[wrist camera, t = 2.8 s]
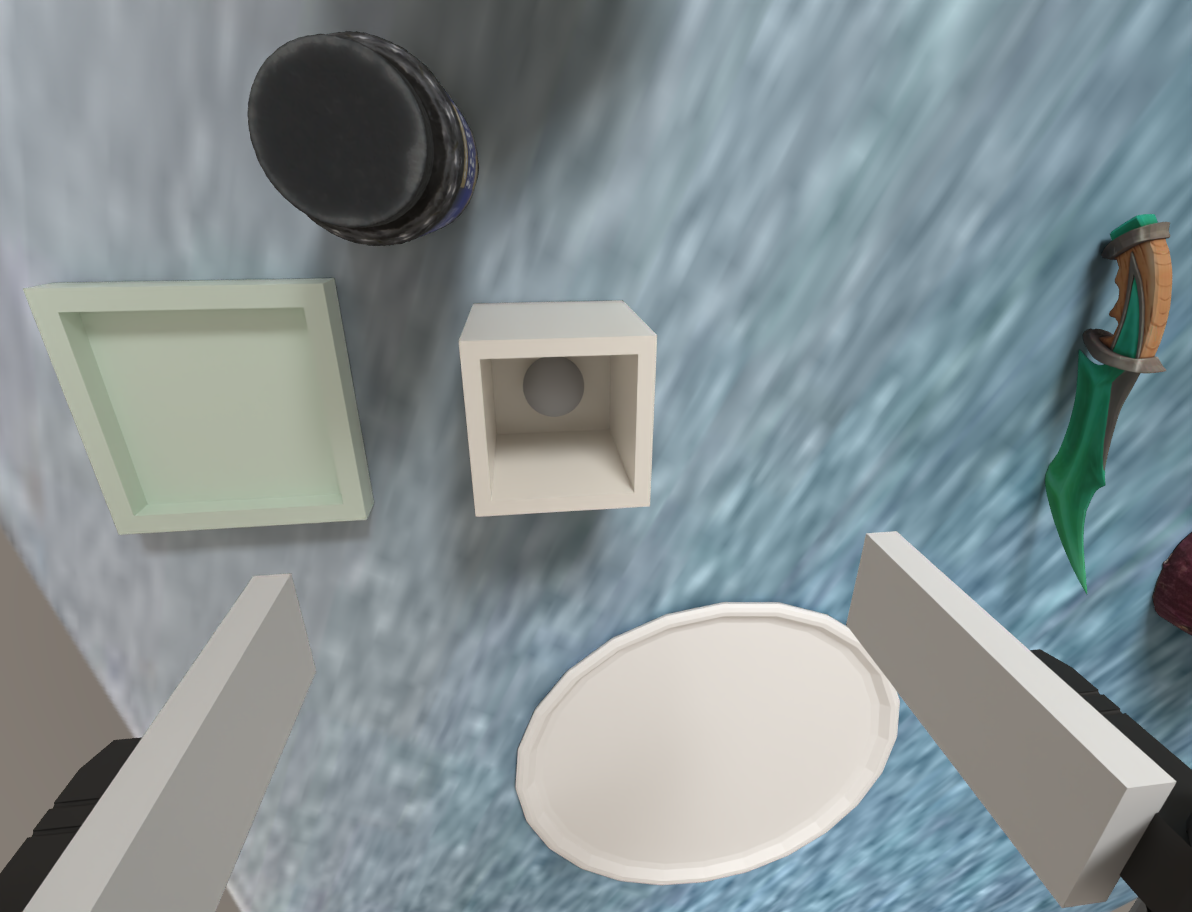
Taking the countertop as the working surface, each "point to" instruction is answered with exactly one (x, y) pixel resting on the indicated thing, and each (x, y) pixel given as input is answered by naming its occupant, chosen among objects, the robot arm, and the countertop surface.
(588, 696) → the plate
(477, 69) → the countertop surface
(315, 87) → the pill bottle
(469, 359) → the open cream box
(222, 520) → the tray
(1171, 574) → the vegetable
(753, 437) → the countertop surface
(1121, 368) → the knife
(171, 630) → the countertop surface
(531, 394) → the ball
